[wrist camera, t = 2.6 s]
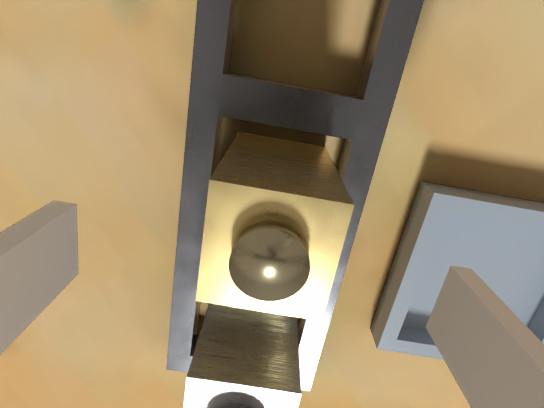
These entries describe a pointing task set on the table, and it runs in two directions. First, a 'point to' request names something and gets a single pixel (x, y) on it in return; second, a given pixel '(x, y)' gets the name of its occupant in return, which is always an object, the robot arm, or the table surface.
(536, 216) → the parts tray
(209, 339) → the grey knobbed block
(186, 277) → the rail
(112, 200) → the table surface
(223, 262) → the gold block with knob
